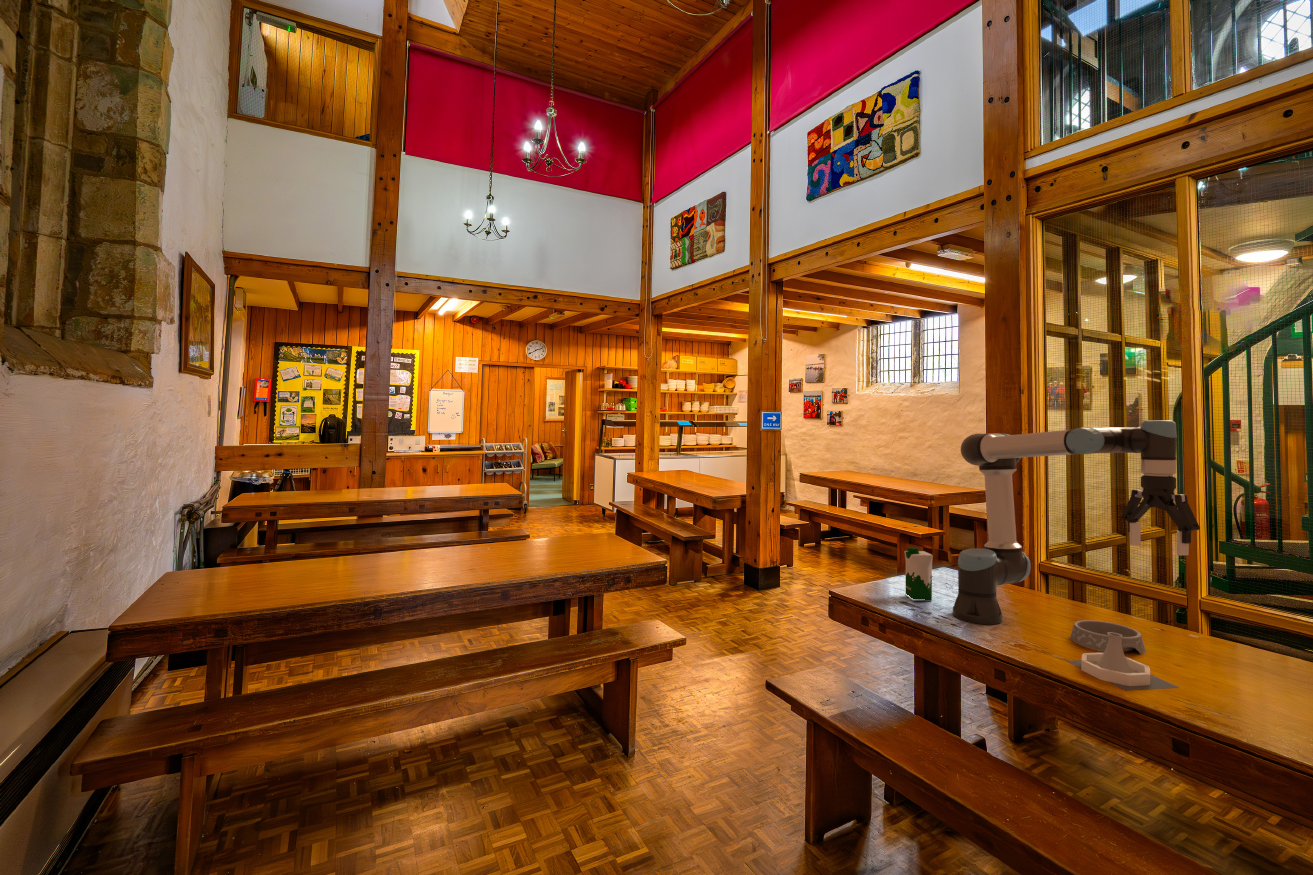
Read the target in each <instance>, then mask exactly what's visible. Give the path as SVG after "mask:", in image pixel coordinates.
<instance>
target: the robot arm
mask: <svg viewBox="0 0 1313 875" xmlns="http://www.w3.org/2000/svg"><path fill="white" fill-rule="evenodd" d="M1177 438H1178V435H1177V424H1176V422H1175V421H1173V420H1167V419H1165V420H1164V419H1163V420H1157V419H1156V420H1143V421H1141V423H1140V426H1138V427H1111V426H1109V427H1089V426H1088V427H1086V426H1085V427H1077V428H1074V429H1064V430H1053V431H1052V430H1051V431H1042V432H1032V433H1031V432H1030V433H1022V434H1021V433H1020V434H1009V433H1002V432H1000V433H999V432H995V433H992V432H991V433H974V434H970V435H969V436H967V437H965V439H964V440H963V441H962V442H961V445H960V455H961V456H962V459H964V461H966V462H967V463H968V464H971V465H972V466H973V465H974V466H978V467H979V468H978V471H979V472H980V473H981V474H983V475H984V490H985V503H986V504H985V505H986V520H987V521H986V522H987V533H988V534H987V535H988V541H987V542H986V543H984V545H983V546H984V548H983V547H982V548H979V547H977V548H967V549H963V550H962V551H960V552H959V554H958V560H957V566H958V567H957V568H958V569H957V572H958V573H957V574H958V575H957V580H958V581H957V582H958V583H957V584H958V585H957V586H958V587H957V588H958V592H957V593H958V594H957V596H956V599H955V602H954V604H953V607H952V615H953V617H955V616H956V617H957V618H956V617H955V618H956V619H958V618H959V619H958V620H961V621H964V622H968V623H972V624H977V625H998V624H999V625H1000V624H1001V623H1002V622H1003V613H1002V609H1001V607H1000V604H999V601H998V598H997V593H998V592H997V586H1004V585H1012V584H1013V585H1014V584H1017V583H1020V582H1023V581H1024V580H1026V579H1027V578H1028V577H1029V576H1030V574H1031V568H1032V567H1031V566H1032V565H1031V560H1030V557H1028V556H1027V555H1026V553H1025V552H1023V546H1022V545H1021V544H1020V543H1019V542H1018V541H1017V528H1016V515H1015V514H1016V513H1015V502H1014V499H1015V498H1014V486H1013V474H1014V473H1015V472H1017V469H1018V468H1017V463H1019V461H1020V460H1021V459H1022V458H1035V457H1051V456H1053V457H1054V456H1069V455H1071V456H1073V455H1093V454H1114V453H1115V454H1117V453H1119V454H1121V453H1122V454H1128V453H1129V454H1140V473H1141V474H1142V475H1141V476H1140V487H1141V488H1142V489H1131V492H1130V498H1129V500H1128V502H1127V503H1126V506H1125V507H1124V510H1123V511H1122V514H1121V515H1120V518H1121V519H1122V520H1125V521H1127V532H1128V533H1129V546H1141V545H1142V544H1141V539H1142V538H1141V534H1142V533H1141V526H1142V525H1141V521H1140V519H1141V518H1142V517H1143V516H1145V514H1146V513H1147V512H1148V511H1149V510H1150V509H1151V508H1156V509H1162V510H1163V511H1165V512H1166V513H1167V514H1168V516H1169V517H1170V519H1171V520H1172V521H1173V523H1175V525H1176V526H1177V528H1178V530H1176V556H1189V554H1190V553H1189V552H1190V550H1189V548H1190V545H1189V544H1191V543H1192V532H1193V531H1200V529H1201V527H1200V525H1199V523H1198V521H1197V519H1196V517H1195V514H1194V512H1193V510H1192V508H1191V506H1190V504H1189V502H1188V495H1187V494H1186V493H1183V494H1181V493H1180V494H1178V493H1177V494H1176V493H1175V490H1176V489H1177V477H1176V476H1175V475H1176V474H1177V440H1178V439H1177Z"/></svg>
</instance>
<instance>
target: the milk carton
mask: <svg viewBox="0 0 1313 875" xmlns="http://www.w3.org/2000/svg"><path fill="white" fill-rule="evenodd" d="M933 556H934V555H933V554H932V553H929V552H926V550H925V551H924V550H921V551H920V549H919V547H917V546H907V550H904V560H905V595H906V594H907V595H909V596H910V597H911V598H913V599H925V600H932V601H933V598H932V597H933V596H932V595H933V576H932V575H933V559H934V558H933Z"/></svg>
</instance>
